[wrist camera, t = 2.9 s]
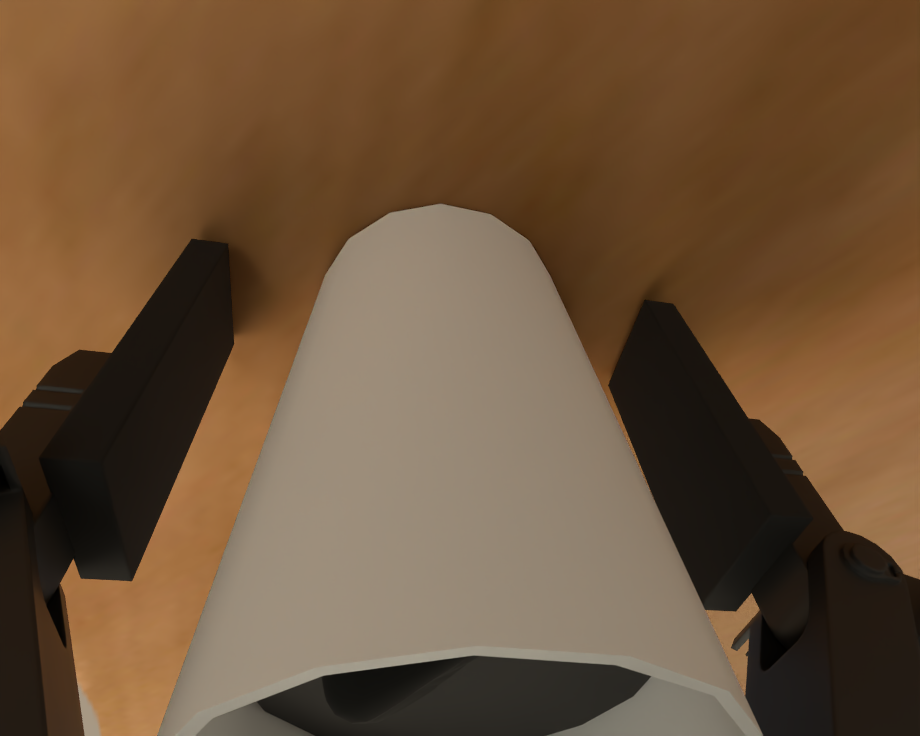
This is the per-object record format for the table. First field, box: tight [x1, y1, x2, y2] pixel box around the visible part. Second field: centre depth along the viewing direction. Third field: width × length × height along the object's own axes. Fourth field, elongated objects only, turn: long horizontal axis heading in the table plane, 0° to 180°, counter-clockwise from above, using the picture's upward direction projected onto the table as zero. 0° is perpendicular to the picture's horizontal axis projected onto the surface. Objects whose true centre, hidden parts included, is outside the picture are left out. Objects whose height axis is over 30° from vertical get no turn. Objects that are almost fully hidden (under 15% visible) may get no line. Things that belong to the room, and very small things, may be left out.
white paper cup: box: [157, 204, 763, 736], centre depth 11 cm, size 7×7×10 cm
